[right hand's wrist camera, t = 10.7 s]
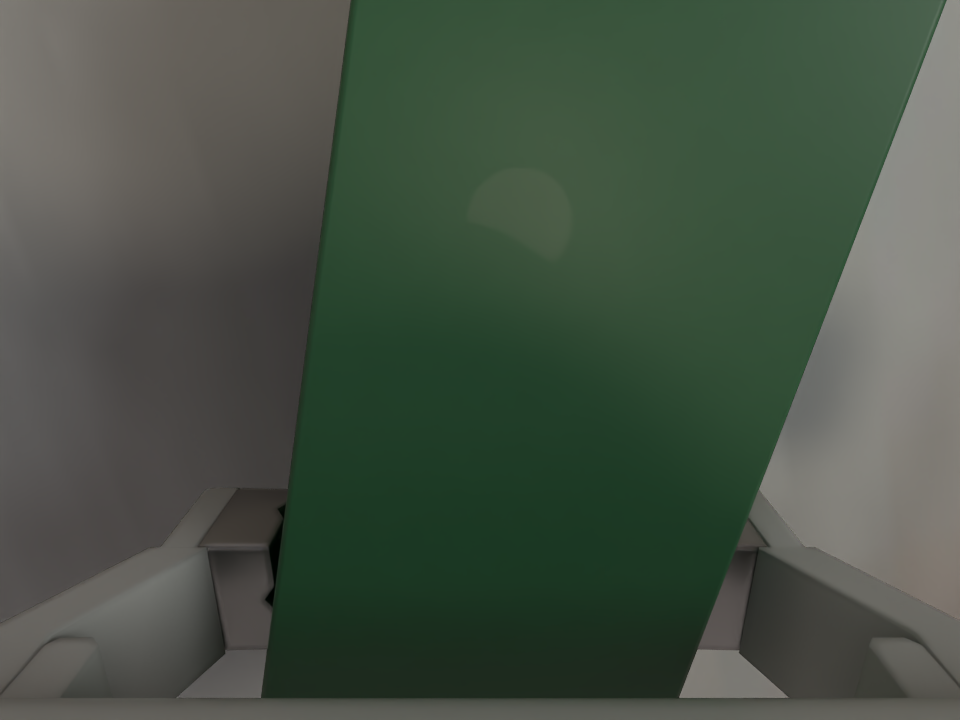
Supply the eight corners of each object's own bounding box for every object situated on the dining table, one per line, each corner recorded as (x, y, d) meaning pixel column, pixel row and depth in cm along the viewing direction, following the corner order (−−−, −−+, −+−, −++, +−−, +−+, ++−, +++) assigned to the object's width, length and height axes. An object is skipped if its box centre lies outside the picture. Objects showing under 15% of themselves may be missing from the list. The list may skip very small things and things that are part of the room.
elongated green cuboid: (481, -291, 11) (505, -1235, 4) (763, -213, 11) (1306, -916, 4) (345, 536, 16) (238, 852, 9) (544, 570, 16) (604, 898, 9)
